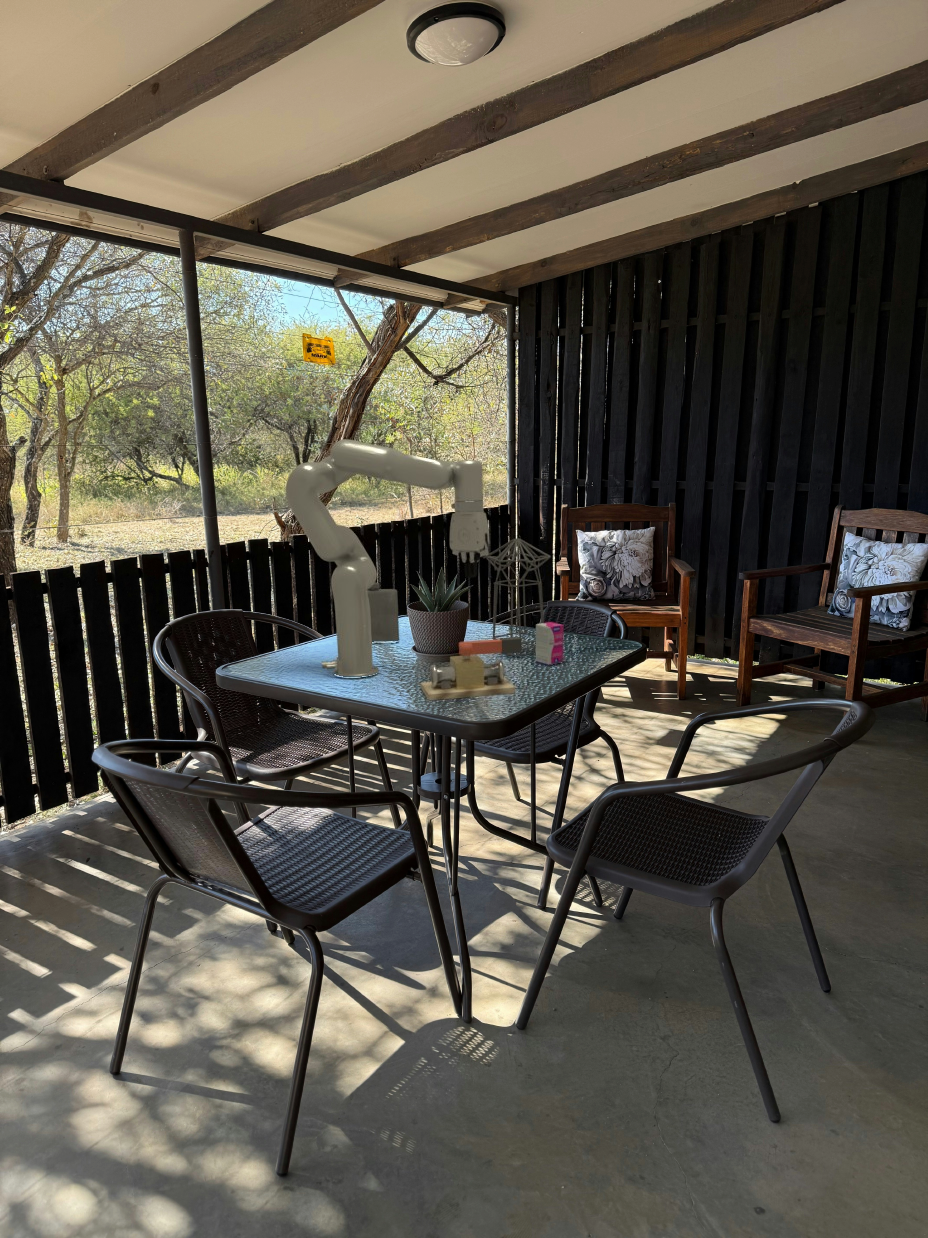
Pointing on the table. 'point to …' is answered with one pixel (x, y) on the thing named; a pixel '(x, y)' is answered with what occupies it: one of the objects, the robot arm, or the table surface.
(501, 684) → the mounting board
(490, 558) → the geometric lantern
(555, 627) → the supplement box
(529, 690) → the table surface
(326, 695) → the table surface
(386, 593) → the flask
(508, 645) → the valve lever
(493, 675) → the pipe valve
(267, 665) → the table surface
